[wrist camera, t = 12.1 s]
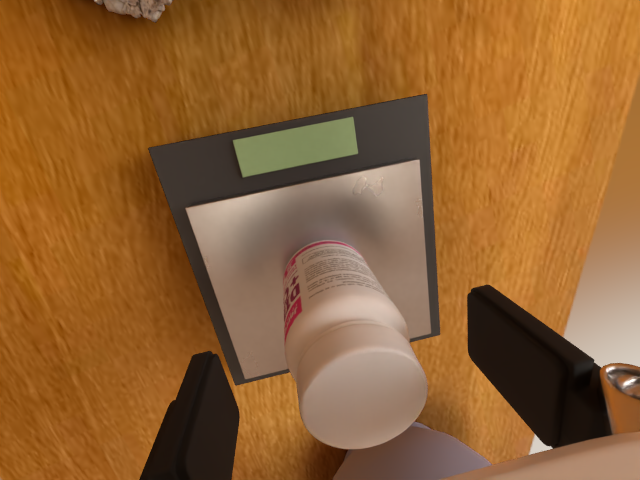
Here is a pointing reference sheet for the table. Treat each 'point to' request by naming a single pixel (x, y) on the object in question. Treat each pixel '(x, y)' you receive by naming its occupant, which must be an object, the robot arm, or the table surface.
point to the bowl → (411, 457)
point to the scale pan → (302, 229)
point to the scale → (294, 177)
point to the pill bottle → (348, 349)
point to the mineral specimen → (136, 7)
